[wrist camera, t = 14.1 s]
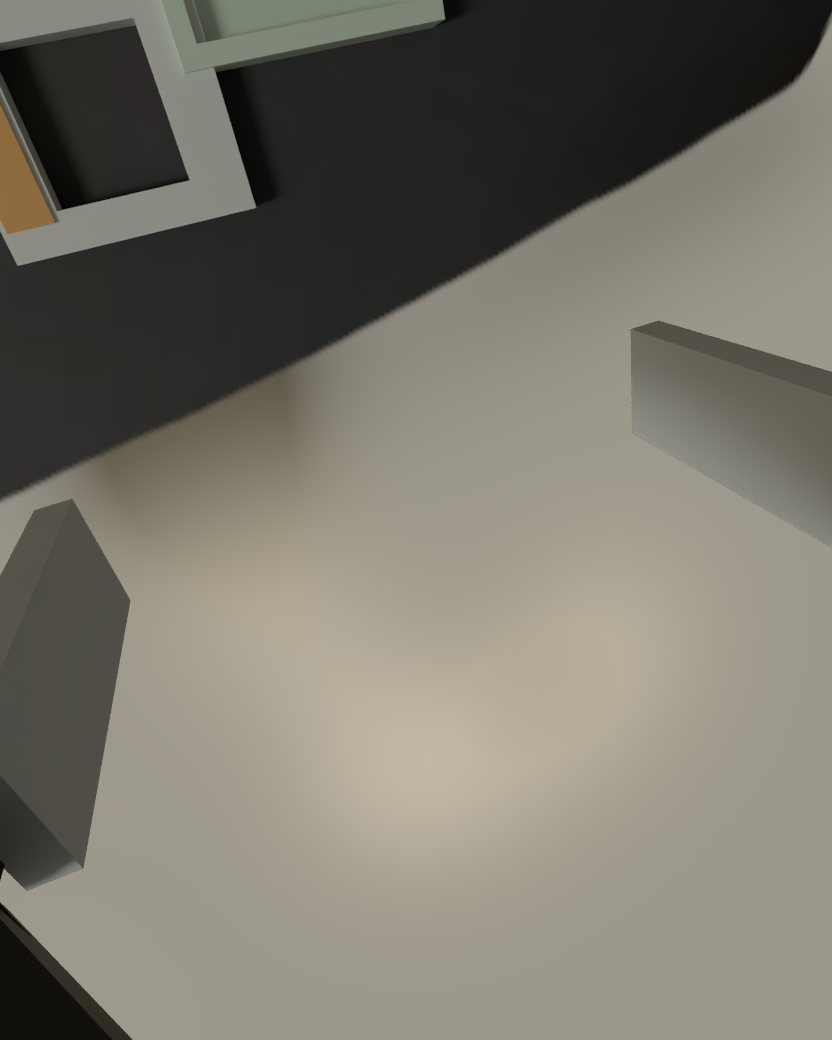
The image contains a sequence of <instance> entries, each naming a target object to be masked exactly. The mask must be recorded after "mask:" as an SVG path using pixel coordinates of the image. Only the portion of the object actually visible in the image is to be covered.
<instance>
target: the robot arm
mask: <svg viewBox="0 0 832 1040" xmlns="http://www.w3.org/2000/svg"><path fill="white" fill-rule="evenodd" d="M631 384H632V433H633V434H635V435H636V436H638V437H640V438H642V439H643V440H645V441H647V442H648V443H650V444H652V445H654V446H656V447H657V448H659V449H661V450H662V451H664V452H666V453H668V454H670V455H671V456H673V457H675V458H676V459H678V460H680V461H682V462H683V463H685V464H687V465H688V466H690V467H692V468H694V469H696V470H697V471H699V472H701V473H702V474H704V475H706V476H708V477H709V478H711V479H713V480H714V481H716V482H718V483H720V484H722V485H723V486H725V487H727V488H728V489H730V490H732V491H734V492H735V493H737V494H739V495H740V496H742V497H744V498H746V499H748V500H749V501H751V502H753V503H754V504H756V505H758V506H760V507H761V508H763V509H765V510H767V511H768V512H770V513H772V514H774V515H775V516H777V517H779V518H780V519H782V520H784V521H786V522H787V523H789V524H791V525H793V526H794V527H796V528H798V529H800V530H802V531H803V532H805V533H807V534H808V535H810V536H812V537H813V538H815V539H817V540H819V541H820V542H822V543H824V544H826V545H827V546H829V547H831V548H832V372H830V371H826V370H823V369H820V368H817V367H813V366H810V365H807V364H803V363H800V362H796V361H793V360H790V359H786V358H783V357H780V356H776V355H772V354H769V353H766V352H762V351H759V350H756V349H752V348H749V347H745V346H742V345H739V344H736V343H732V342H729V341H725V340H722V339H719V338H715V337H712V336H708V335H705V334H702V333H698V332H695V331H692V330H688V329H685V328H681V327H678V326H675V325H671V324H668V323H665V322H661V321H657V322H653V323H650V324H646V325H643V326H640V327H636V328H633V329H631ZM129 605H130V599H129V597H128V595H127V594H126V592H125V590H124V588H123V587H122V585H121V583H120V581H119V580H118V578H117V576H116V574H115V573H114V571H113V569H112V568H111V566H110V564H109V562H108V560H107V559H106V557H105V555H104V553H103V552H102V550H101V548H100V546H99V545H98V543H97V541H96V539H95V538H94V536H93V534H92V532H91V531H90V529H89V527H88V525H87V524H86V522H85V521H84V518H83V517H82V515H81V513H80V511H79V510H78V508H77V506H76V504H75V503H74V501H73V499H71V500H67V501H63V502H60V503H57V504H54V505H50V506H47V507H44V508H41V509H37V510H34V512H33V514H32V516H31V518H30V520H29V522H28V523H27V525H26V527H25V529H24V531H23V533H22V535H21V537H20V539H19V541H18V543H17V545H16V546H15V548H14V550H13V552H12V554H11V556H10V558H9V560H8V562H7V564H6V566H5V568H4V570H3V571H2V573H1V575H0V879H1V875H2V872H3V869H5V870H6V871H7V872H8V873H9V874H10V875H11V876H13V878H14V879H15V880H16V881H17V882H18V883H19V884H20V885H21V886H22V887H23V888H24V889H25V890H26V891H28V890H30V889H33V888H35V887H38V886H40V885H43V884H46V883H48V882H50V881H53V880H56V879H58V878H61V877H63V876H66V875H68V874H71V873H73V872H76V871H78V870H81V869H83V866H84V861H85V856H86V850H87V844H88V838H89V833H90V827H91V822H92V815H93V810H94V804H95V798H96V793H97V788H98V782H99V776H100V770H101V764H102V759H103V753H104V748H105V741H106V736H107V731H108V724H109V719H110V713H111V707H112V702H113V696H114V691H115V685H116V679H117V673H118V668H119V662H120V656H121V650H122V645H123V639H124V634H125V628H126V622H127V616H128V611H129ZM0 1040H132V1039H131V1038H130V1037H129V1036H128V1035H127V1034H126V1032H125V1031H124V1030H123V1029H122V1028H121V1027H120V1026H119V1025H118V1024H117V1023H116V1022H115V1021H114V1020H113V1019H112V1018H111V1017H110V1016H109V1015H108V1014H107V1013H106V1012H105V1011H104V1009H103V1008H102V1007H101V1006H100V1005H99V1004H98V1003H97V1002H95V1000H94V999H93V998H92V997H91V996H90V995H89V994H88V993H87V992H86V991H85V990H84V989H83V988H82V987H81V985H80V984H79V983H77V981H76V980H75V979H74V978H73V977H72V976H71V975H70V974H69V973H68V972H67V971H66V970H65V969H64V968H63V967H62V966H61V965H60V964H59V963H58V961H57V960H56V959H55V958H54V957H53V956H52V955H51V954H50V953H49V952H48V951H47V950H46V949H45V948H44V947H43V946H42V945H41V944H40V943H39V942H38V941H37V939H36V938H35V937H34V936H33V935H32V934H31V933H30V932H29V931H28V930H27V929H26V928H25V927H24V926H23V925H22V924H21V923H20V922H19V921H18V920H17V919H16V918H15V917H14V915H13V914H12V913H11V912H10V911H9V910H8V909H7V908H6V907H5V906H4V905H2V904H1V903H0Z"/></svg>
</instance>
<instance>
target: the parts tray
mask: <svg viewBox="0 0 832 1040" xmlns="http://www.w3.org/2000/svg"><path fill="white" fill-rule="evenodd" d="M161 2H162V5H163V8H164V11H165V14H166V17H167V20H168V23H169V27H170V30H171V33H172V36H173V39H174V42H175V45H176V48H177V51H178V54H179V57H180V61H181V64H182V67H183V70H184V73H185V74H188V73H193V72H198V71H202V70H207V69H212V68H214V69H215V73H216V72H221V71H225V70H230V69H235V68H240V67H245V66H250V65H254V64H259V63H264V62H269V61H274V60H279V59H283V58H288V57H293V56H298V55H303V54H308V53H313V52H317V51H322V50H327V49H332V48H337V47H342V46H346V45H351V44H356V43H361V42H366V41H371V40H375V39H380V38H385V37H390V36H395V35H400V34H404V33H409V32H414V31H419V30H424V29H429V28H433V27H434V26H436V25H437V24H439V23H440V22H442V21H443V20H445V15H444V7H443V0H194V3H195V6H196V10H197V13H198V16H199V20H200V23H201V26H202V30H203V33H204V36H205V40H206V42H204V43H199V44H197V43H196V40H195V36H194V33H193V30H192V27H191V23H190V20H189V17H188V14H187V10H186V7H185V4H184V1H183V0H161Z"/></svg>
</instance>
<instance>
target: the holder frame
mask: <svg viewBox="0 0 832 1040" xmlns="http://www.w3.org/2000/svg"><path fill="white" fill-rule="evenodd" d="M183 1H184V4H185V7H186V10H187V14H188V17H189V20H190V23H191V27H192V30H193V33H194V36H195V40H196V43H197V44H199V43H204V42H206V40H205V36H204V33H203V30H202V26H201V23H200V20H199V16H198V13H197V10H196V6H195V3H194V0H183ZM134 25H136V26H137V29H138V32H139V35H140V38H141V41H142V43H143V46H144V49H145V52H146V55H147V58H148V61H149V64H150V67H151V70H152V72H153V75H154V78H155V81H156V84H157V87H158V90H159V93H160V96H161V98H162V101H163V104H164V107H165V110H166V113H167V116H168V119H169V122H170V125H171V127H172V130H173V133H174V136H175V139H176V142H177V145H178V148H179V151H180V153H181V156H182V159H183V162H184V165H185V168H186V171H187V174H188V177H189V181H185V182H181V183H176V184H172V185H168V186H163V187H159V188H155V189H151V190H146V191H142V192H138V193H133V194H129V195H125V196H120V197H116V198H112V199H108V200H103V201H99V202H95V203H90V204H86V205H82V206H77V207H73V208H69V209H65V210H62V207H61V205H60V203H59V201H58V199H57V196H56V194H55V192H54V190H53V187H52V185H51V183H50V181H49V179H48V176H47V174H46V172H45V170H44V168H43V165H42V163H41V161H40V159H39V156H38V154H37V152H36V150H35V148H34V145H33V143H32V141H31V139H30V136H29V134H28V132H27V130H26V128H25V125H24V123H23V121H22V119H21V117H20V114H19V112H18V110H17V108H16V105H15V103H14V101H13V99H12V97H11V94H10V92H9V90H8V88H7V86H6V83H5V81H4V79H3V77H2V74H1V72H0V232H1V234H2V235H3V237H4V239H5V241H6V243H7V245H8V247H9V249H10V251H11V253H12V255H13V257H14V259H15V261H16V263H17V265H18V266H19V265H23V264H27V263H31V262H35V261H39V260H43V259H48V258H52V257H56V256H60V255H64V254H68V253H72V252H76V251H80V250H85V249H89V248H93V247H97V246H101V245H105V244H109V243H113V242H117V241H122V240H126V239H130V238H134V237H138V236H142V235H146V234H150V233H154V232H159V231H163V230H167V229H171V228H175V227H179V226H183V225H187V224H191V223H196V222H200V221H204V220H208V219H212V218H216V217H220V216H224V215H228V214H233V213H237V212H241V211H245V210H249V209H253V208H256V205H255V202H254V199H253V195H252V192H251V189H250V186H249V182H248V179H247V176H246V172H245V169H244V166H243V162H242V159H241V156H240V152H239V149H238V146H237V142H236V139H235V136H234V132H233V129H232V126H231V122H230V119H229V116H228V113H227V109H226V106H225V103H224V99H223V96H222V93H221V89H220V86H219V83H218V79H217V76H216V73H215V69H214V68H212V69H207V70H202V71H198V72H193V73H188V74H185V73H184V70H183V67H182V64H181V61H180V57H179V54H178V51H177V48H176V45H175V42H174V39H173V36H172V33H171V30H170V27H169V23H168V20H167V17H166V14H165V11H164V8H163V5H162V2H161V0H0V51H3V50H8V49H14V48H19V47H24V46H29V45H35V44H40V43H45V42H50V41H55V40H61V39H66V38H71V37H76V36H82V35H87V34H92V33H97V32H103V31H108V30H113V29H118V28H124V27H129V26H134Z"/></svg>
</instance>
